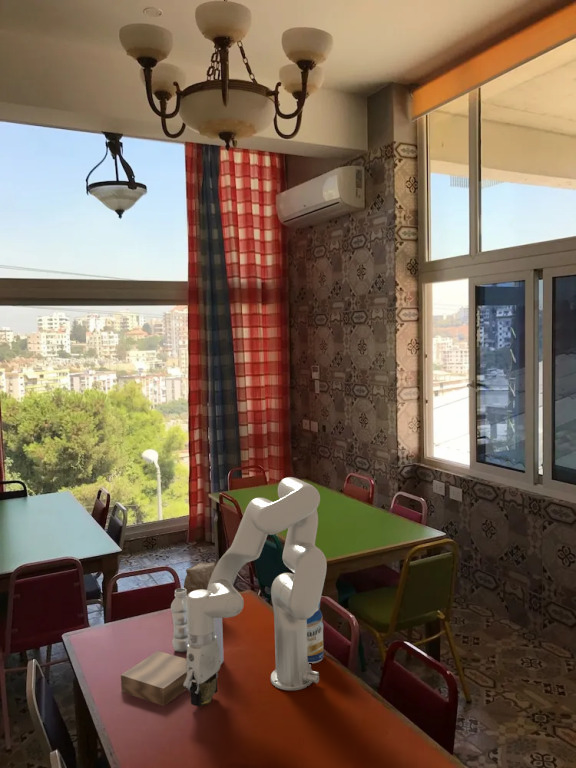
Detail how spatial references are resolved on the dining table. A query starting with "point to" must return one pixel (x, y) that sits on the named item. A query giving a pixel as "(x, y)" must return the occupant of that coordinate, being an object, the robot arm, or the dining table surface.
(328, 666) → the dining table surface
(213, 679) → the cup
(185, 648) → the plastic bottle
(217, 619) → the spray bottle
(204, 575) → the brown rock
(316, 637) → the beverage bottle
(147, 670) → the walnut plinth
